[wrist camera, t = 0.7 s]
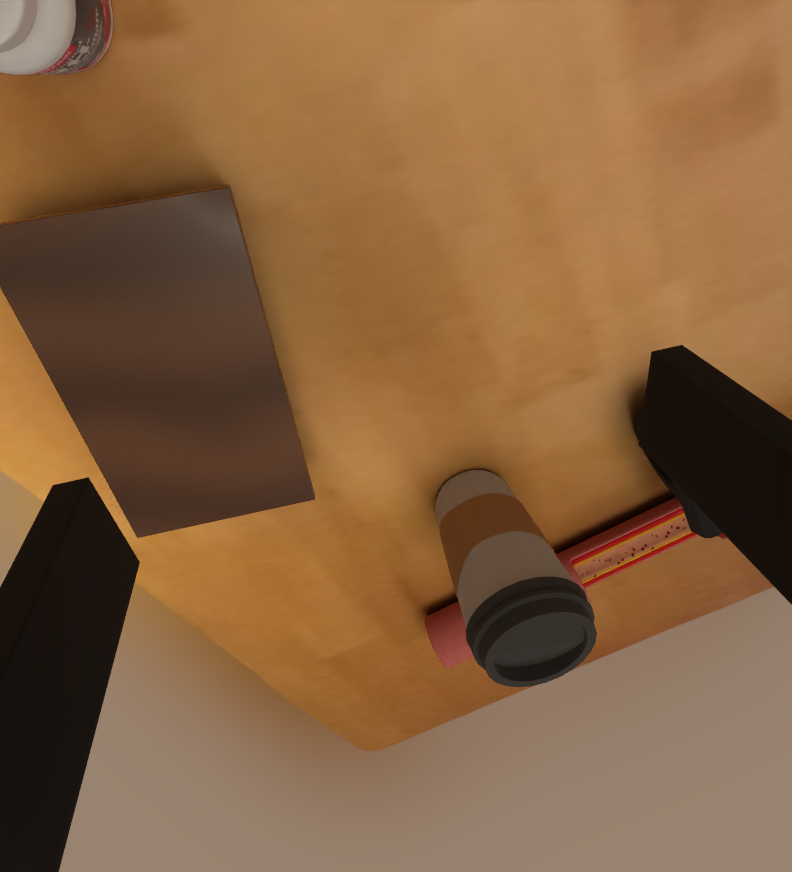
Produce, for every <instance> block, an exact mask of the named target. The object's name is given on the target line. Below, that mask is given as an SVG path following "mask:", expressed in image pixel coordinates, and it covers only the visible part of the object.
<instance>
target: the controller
mask: <svg viewBox="0 0 792 872" xmlns="http://www.w3.org/2000/svg"><path fill="white" fill-rule="evenodd" d="M643 409H644V406H643V407H641V408H640V410H639V411H638V412H637V414H636V416H635V422H634V425H635V431H636V434H637V437H638V440H639V437H640V430H641V423H642V416H643ZM643 451H644V450H643ZM644 453H645V454H646V456H647V458H648V460H649V461H650V463H651V465H652V466H653V468H654V469H655V471H656V472H657V474H658V475H659V477H660V478H661V479H662V481H663V482H664V483H665V485H666V486H667V487H668V489H669V490H670V491H671V492H672V493H673V494H674V496H675V497H676V498H677V499H678V501H679V502H680V504H681V506H682V508H683V511H684V513H685V516H686V519H687V522H688V525H689V527H690V530H691V531H692V532H693V533H695V534H697V535H699V536H701V537H704V538H712V537H715V536H718V535H720V534H722V533H723V532H722V531H721V530H720V529H719V528H718V527H717V526H716V525H715V524H714V523H713V522H712V521H711V520H710V519H709V518H708V517H707V516H706V515H705V514H704V513H703V512H702V511H701V510H700V508H699V507H698V506H697V505H696V504H695V503H694V502H693V501H692V500H691V499H690V498H689V497H688V496H687V495H686V494H685V493H684V492H683V491H682V490H681V489H680V488H679V487H678V486H677V485H676V483H675V482H674V481H673V480H672V479H671V478H670V477H669V476H668V475H667V474H666V473H665V472H664V471H663V470H662V469H661V468H660V467H659V466H658V465H657V464H656V463H655V462H654V461H653V459H652V458H651V457H650V456H649V455H648V454H647V453H646V452H645V451H644Z"/></svg>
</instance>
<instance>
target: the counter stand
mask: <svg viewBox="0 0 792 872" xmlns="http://www.w3.org/2000/svg"><path fill="white" fill-rule="evenodd" d="M0 287H1V289H2V291H3V293H4V295H5V296H6V298H7V300H8V302H9V304H10V306H11V307H12V309H13V311H14V313H15V315H16V317H17V318H18V320H19V322H20V324H21V326H22V327H23V329H24V331H25V333H26V335H27V337H28V338H29V340H30V342H31V344H32V346H33V348H34V349H35V351H36V353H37V355H38V357H39V359H40V360H41V362H42V364H43V366H44V368H45V370H46V371H47V373H48V375H49V377H50V379H51V381H52V382H53V384H54V386H55V388H56V390H57V392H58V393H59V395H60V397H61V399H62V401H63V403H64V404H65V406H66V408H67V410H68V412H69V414H70V415H71V417H72V419H73V421H74V423H75V425H76V426H77V428H78V430H79V432H80V434H81V435H82V437H83V439H84V441H85V443H86V445H87V446H88V448H89V450H90V452H91V454H92V456H93V457H94V459H95V461H96V463H97V465H98V467H99V468H100V470H101V472H102V474H103V476H104V478H105V479H106V481H107V483H108V485H109V487H110V489H111V490H112V492H113V494H114V496H115V498H116V500H117V501H118V503H119V505H120V507H121V509H122V511H123V512H124V514H125V516H126V518H127V520H128V522H129V523H130V525H131V527H132V529H133V531H134V532H135V534H136V536H137V538H140V537H144V536H149V535H153V534H158V533H163V532H167V531H172V530H176V529H181V528H186V527H190V526H195V525H199V524H204V523H209V522H213V521H218V520H222V519H227V518H232V517H236V516H241V515H245V514H250V513H255V512H259V511H264V510H268V509H273V508H277V507H282V506H287V505H291V504H296V503H300V502H305V501H310V500H314V499H315V494H314V490H313V486H312V482H311V479H310V475H309V471H308V468H307V464H306V460H305V457H304V453H303V449H302V446H301V442H300V438H299V435H298V431H297V427H296V424H295V420H294V417H293V413H292V409H291V406H290V402H289V398H288V395H287V391H286V387H285V384H284V380H283V376H282V373H281V369H280V365H279V362H278V358H277V354H276V351H275V347H274V343H273V340H272V336H271V332H270V329H269V325H268V321H267V318H266V314H265V310H264V307H263V303H262V300H261V296H260V292H259V289H258V285H257V281H256V278H255V274H254V270H253V267H252V263H251V259H250V256H249V252H248V248H247V245H246V241H245V237H244V234H243V230H242V226H241V223H240V219H239V215H238V212H237V208H236V204H235V201H234V197H233V193H232V190H231V186H230V185H223V186H217V187H211V188H205V189H199V190H194V191H188V192H182V193H176V194H170V195H164V196H158V197H152V198H146V199H140V200H134V201H128V202H122V203H116V204H110V205H104V206H98V207H92V208H86V209H80V210H74V211H68V212H62V213H56V214H50V215H44V216H38V217H32V218H26V219H20V220H14V221H8V222H2V223H0Z"/></svg>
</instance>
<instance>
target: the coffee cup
mask: <svg viewBox="0 0 792 872" xmlns="http://www.w3.org/2000/svg"><path fill="white" fill-rule="evenodd" d="M435 512H436V517H437V521H438V525H439V529H440V536H441V540H442V544H443V548H444V552H445V555H446V559H447V563H448V567H449V571H450V574H451V578H452V582H453V586H454V590H455V594H456V597H457V598H458V600H459V604H460V608H461V611H462V615H463V619H464V623H465V626H466V642H467V643H468V645H469V647H470V649H471V650H472V654H473V656H474V658H475V660H476V661H477V663H478V665H480V666H481V667H482V668H484V669H485V670H486V672H487V674H488V676H489V677H490V678H491V679H493V680H494V681H495V682H497V683H499V684H502V685H505V686H512V687H525V686H534V685H538V684H542V683H546V682H548V681H551V680H553V679H556V678H558V677H560V676H562V675H564V674H566V673H567V672H569V671H571V670H572V669H574V668H575V667H576V666H577V665H579V664H580V663H581V662H582V661H583V660H584V659H585V658H586V657H587V656H588V654H589V653H590V652H591V650H592V648H593V646H594V644H595V642H596V635H597V633H596V629H595V626H594V613H593V610H592V607H591V605H590V603H589V602H588V600H587V597H586V593H585V592H584V590H583V589H582V588H581V587H580V586H579V585H578V584H576V583H575V582H574V581H573V579H572V578H571V577H570V575H569V574H568V572H567V571H566V569H565V568H564V566H563V565H562V564H561V562H560V561H559V559H558V558H557V556H556V554H555V552H554V550H553V548H552V547H551V545H550V544H549V543H548V541H547V540H546V538H545V537H544V535H543V534H542V532H541V531H540V530H539V528H538V527H537V525H536V524H535V522H534V521H533V520H532V518H531V517H530V515H529V514H528V512H527V511H526V510H525V508H524V507H523V505H522V504H521V503H520V502H519V501H518V500H517V498H516V497H515V496H514V494H513V493H512V491H511V490H510V488H509V487H508V485H507V484H506V483H505V482H504V480H503V479H502V478H501V477H499V476H497V475H496V474H493V473H491V472H488V471H484V470H470V471H465V472H462V473H460V474H458V475H455V476H454V477H453V478H451V479H450V480H448V481H447V482H446V483H445V484H444V485H443V487H442V488H441V490H440V492H439V493H438V497H437V500H436V504H435Z"/></svg>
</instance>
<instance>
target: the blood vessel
mask: <svg viewBox="0 0 792 872" xmlns="http://www.w3.org/2000/svg"><path fill="white" fill-rule="evenodd" d="M696 536H699V535H697V534H695V533H693V532H692V531H691V530H690V527H689V525H688V522H687V519H686V516H685V513H684V511H683V508H682V506H681V504H680V502H679V501H678V499H677V498H676V497H675V498H673V499H671V500H669V501H667V502H665V503H663V504H660V505H658V506H656V507H654V508H652V509H650V510H648V511H646V512H644V513H642V514H640V515H637V516H635V517H633V518H631V519H629V520H627V521H625V522H623V523H621V524H619V525H617V526H614V527H612V528H610V529H608V530H606V531H604V532H602V533H600V534H598V535H596V536H594V537H591V538H589V539H587V540H585V541H583V542H581V543H579V544H577V545H575V546H573V547H571V548H568V549H566V550H564V551H562V552H560V553H558V554H556V556H557V558H558V559H559V561H560V562H561V564H562V565H563V566H564V568H565V569H566V571H567V572H568V574H569V575H570V577H571V578H572V579H573V581H574V582H575V583H576V584H578V585H579V586H580V587H581V588H582V589H583V590H584V592H585V593H586V597H587V600H588V602H589V603H590V599H589V597H588V594H587V592H586V590H585V588H587V587H590V586H592V585H594V584H596V583H598V582H600V581H602V580H605V579H607V578H609V577H611V576H613V575H615V574H617V573H620V572H622V571H624V570H626V569H628V568H630V567H632V566H634V565H637V564H639V563H641V562H643V561H645V560H647V559H649V558H652V557H654V556H656V555H658V554H660V553H662V552H664V551H667V550H669V549H671V548H673V547H675V546H677V545H679V544H681V543H684V542H686V541H688V540H690V539H692V538H694V537H696ZM718 536H719V537H720V538H722V539H728V538H727V537H726V536H725V535H724V533H722V534H720V535H718ZM425 625H426V629H427V633H428V637H429V639H430V642H431V644H432V647H433V649H434V651H435V652H436V654H437V657H438V658H439V659H440V661H441V662H442V663H443V665H444V666H445V667H446V668H450V667H453V666H455V665H457V664H459V663H461V662H463V661H466V660H468V659H470V658H472V657H474V656H473V654H472V650H471V649H470V647H469V645H468V643H467V642H466V626H465V623H464V619H463V615H462V611H461V608H460V604H459V601H458V602H456V603H453V604H451V605H449V606H447V607H445V608H443V609H441V610H439V611H437V612H435V613H432V614H430V615H428V616H427V617H426V618H425Z"/></svg>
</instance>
